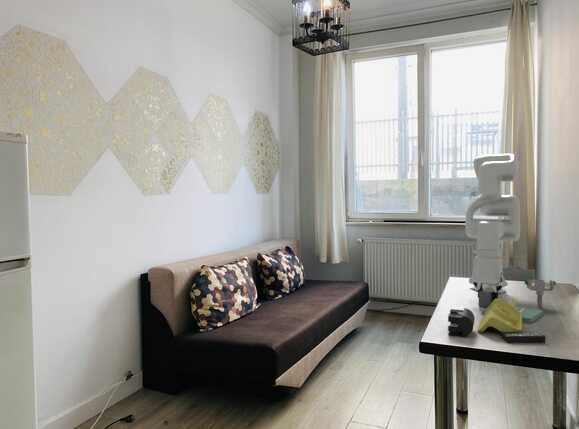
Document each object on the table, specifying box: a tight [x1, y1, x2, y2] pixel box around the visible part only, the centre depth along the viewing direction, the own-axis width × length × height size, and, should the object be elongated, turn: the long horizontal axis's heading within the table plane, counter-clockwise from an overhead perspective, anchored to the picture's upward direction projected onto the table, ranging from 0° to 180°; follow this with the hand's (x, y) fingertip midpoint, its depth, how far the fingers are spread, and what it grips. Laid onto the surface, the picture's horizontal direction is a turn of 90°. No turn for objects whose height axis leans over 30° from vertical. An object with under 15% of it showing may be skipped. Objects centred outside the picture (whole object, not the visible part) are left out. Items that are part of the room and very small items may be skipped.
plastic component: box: [477, 297, 523, 333], centre depth 140 cm, size 20×7×10 cm
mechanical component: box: [524, 278, 557, 308], centre depth 166 cm, size 3×10×10 cm, turn 78°
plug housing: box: [478, 287, 493, 308], centre depth 168 cm, size 4×8×6 cm, turn 137°
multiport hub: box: [500, 331, 547, 344], centre depth 128 cm, size 4×11×2 cm, turn 89°
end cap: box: [447, 307, 475, 338], centre depth 135 cm, size 10×7×7 cm
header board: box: [480, 298, 544, 324], centre depth 155 cm, size 16×14×5 cm
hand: (487, 300), depth 168 cm, fingers closed on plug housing, 4 cm apart
